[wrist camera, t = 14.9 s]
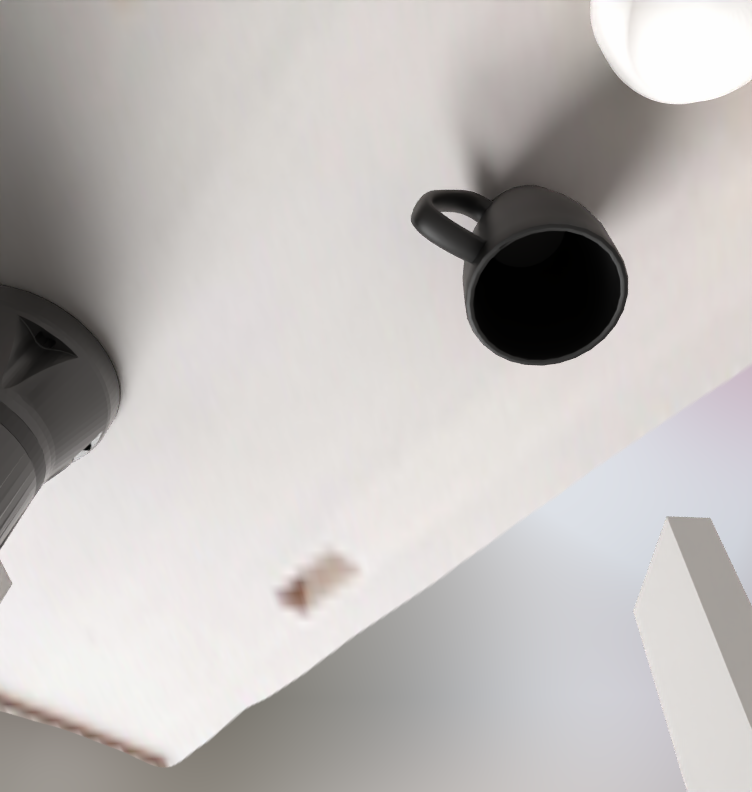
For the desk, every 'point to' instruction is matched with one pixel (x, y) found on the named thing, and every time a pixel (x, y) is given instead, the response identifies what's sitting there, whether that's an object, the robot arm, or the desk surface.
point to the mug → (530, 270)
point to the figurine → (676, 46)
